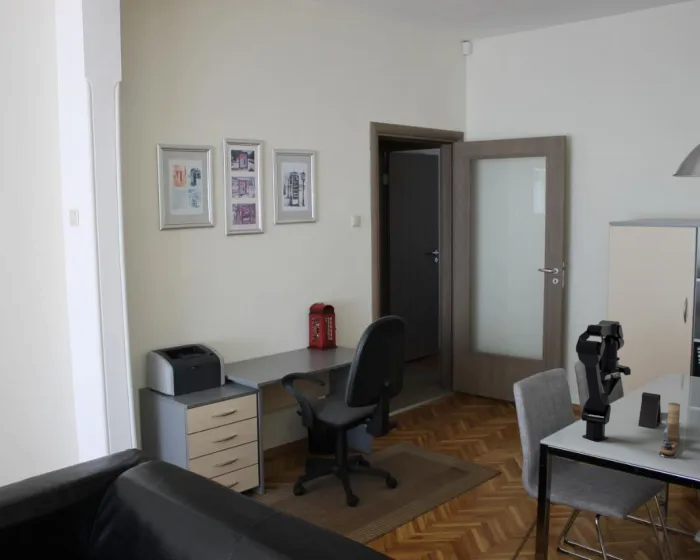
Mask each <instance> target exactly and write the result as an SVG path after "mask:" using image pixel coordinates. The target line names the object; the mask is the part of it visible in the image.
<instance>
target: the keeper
mask: <svg viewBox="0 0 700 560" xmlns="http://www.w3.org/2000/svg"><path fill="white" fill-rule="evenodd" d="M667 427H668V420H666V422H665V429H664V431H663V436H665V437H664V438H665V439H664V440H667ZM680 438H681V422H679V441H680V440H681V439H680Z"/></svg>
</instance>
